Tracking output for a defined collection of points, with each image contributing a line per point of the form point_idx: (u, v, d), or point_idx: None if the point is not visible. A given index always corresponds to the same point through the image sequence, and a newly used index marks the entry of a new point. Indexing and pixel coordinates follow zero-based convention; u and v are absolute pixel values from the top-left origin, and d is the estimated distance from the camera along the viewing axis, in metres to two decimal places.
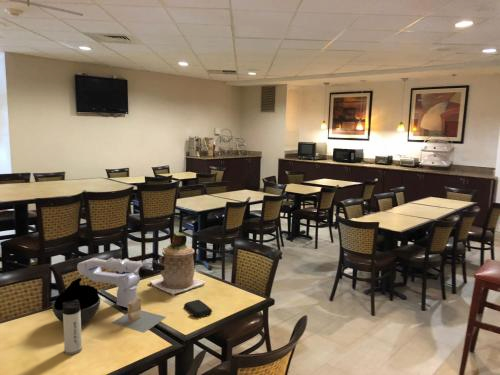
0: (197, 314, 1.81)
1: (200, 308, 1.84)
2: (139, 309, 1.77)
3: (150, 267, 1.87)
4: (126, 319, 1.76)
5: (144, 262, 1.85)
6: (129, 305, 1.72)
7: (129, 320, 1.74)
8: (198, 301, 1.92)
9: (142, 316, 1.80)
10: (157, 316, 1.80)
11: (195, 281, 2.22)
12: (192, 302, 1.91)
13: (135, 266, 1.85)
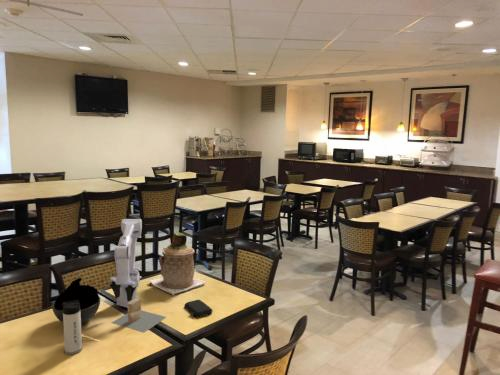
0: (197, 314, 1.81)
1: (200, 308, 1.84)
2: (139, 309, 1.77)
3: (127, 284, 1.76)
4: (126, 319, 1.76)
5: None
6: (129, 305, 1.72)
7: (129, 320, 1.74)
8: (198, 301, 1.92)
9: (142, 316, 1.80)
10: (157, 316, 1.80)
11: (195, 281, 2.22)
12: (192, 302, 1.91)
13: None
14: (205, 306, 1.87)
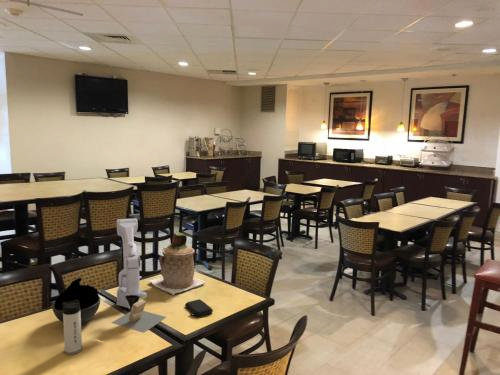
0: (198, 314, 1.81)
1: (201, 308, 1.85)
2: (142, 310, 1.76)
3: None
4: (126, 319, 1.76)
5: None
6: (134, 306, 1.71)
7: (130, 319, 1.73)
8: (199, 301, 1.93)
9: (142, 316, 1.80)
10: (157, 316, 1.80)
11: (195, 281, 2.22)
12: (193, 302, 1.91)
13: None
14: (205, 306, 1.87)
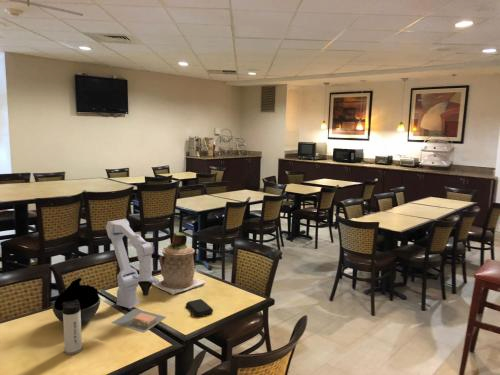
0: (198, 313, 1.81)
1: (201, 308, 1.85)
2: None
3: None
4: (126, 319, 1.76)
5: None
6: (146, 324, 1.69)
7: (133, 320, 1.72)
8: (200, 300, 1.93)
9: None
10: (157, 316, 1.80)
11: (195, 281, 2.23)
12: (194, 301, 1.92)
13: None
14: (206, 306, 1.87)
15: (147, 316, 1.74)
